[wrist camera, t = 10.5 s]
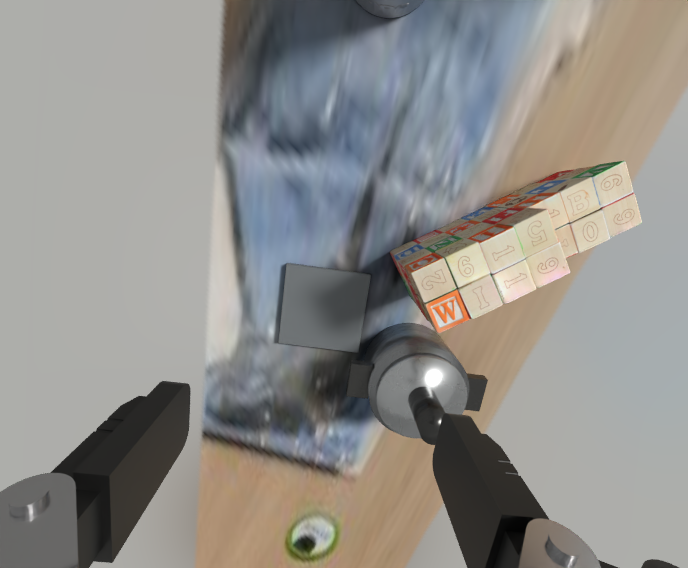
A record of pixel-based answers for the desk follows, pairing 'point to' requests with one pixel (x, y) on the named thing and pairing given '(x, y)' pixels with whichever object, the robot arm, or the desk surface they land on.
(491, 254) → the stack of blocks
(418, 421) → the lid
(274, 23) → the desk surface
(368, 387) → the pot
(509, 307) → the desk surface
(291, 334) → the plate
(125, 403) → the robot arm
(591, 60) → the desk surface
